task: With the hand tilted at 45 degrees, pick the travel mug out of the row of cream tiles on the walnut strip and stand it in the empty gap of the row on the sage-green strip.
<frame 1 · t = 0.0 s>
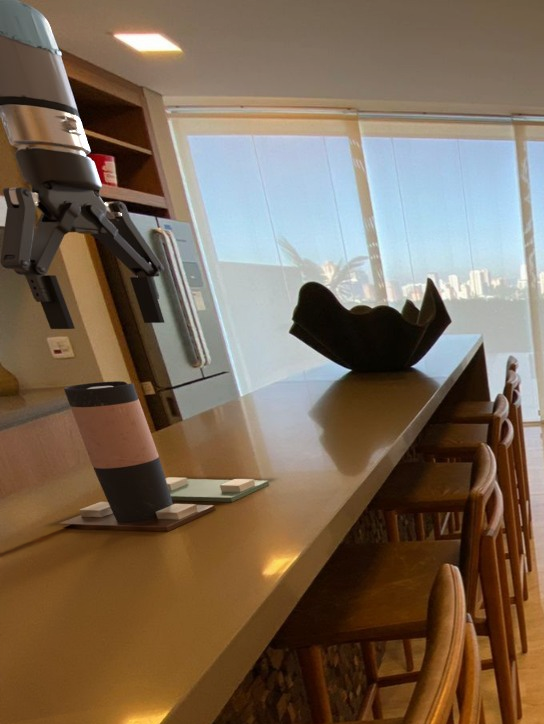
hand: (112, 325, 81), 29 cm above the counter, tool pointing down, fingers open, 13 cm apart
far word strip: (204, 491, 100), on the counter
travel mug: (146, 515, 88), point 1 cm above the counter, touching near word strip
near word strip: (140, 518, 89), on the counter
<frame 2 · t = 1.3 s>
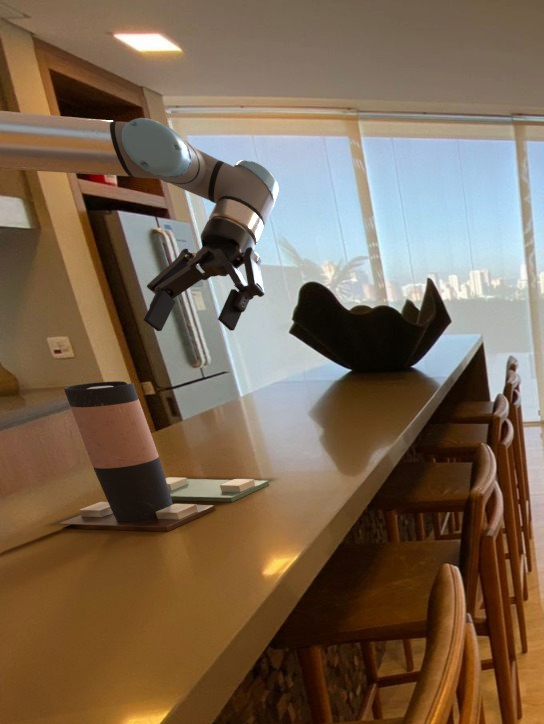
hand: (188, 325, 95), 28 cm above the counter, tool tilted 45°, fingers open, 13 cm apart
nothing on the counter moved.
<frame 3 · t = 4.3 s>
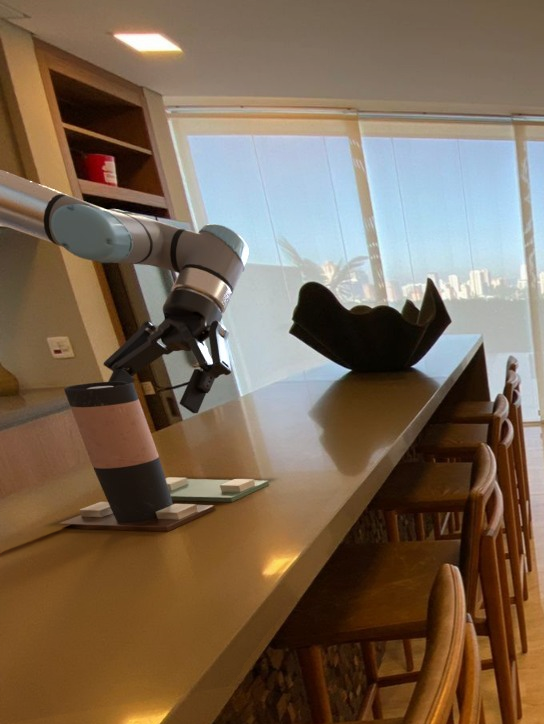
hand: (148, 408, 88), 16 cm above the counter, tool tilted 45°, fingers open, 13 cm apart
nothing on the counter moved.
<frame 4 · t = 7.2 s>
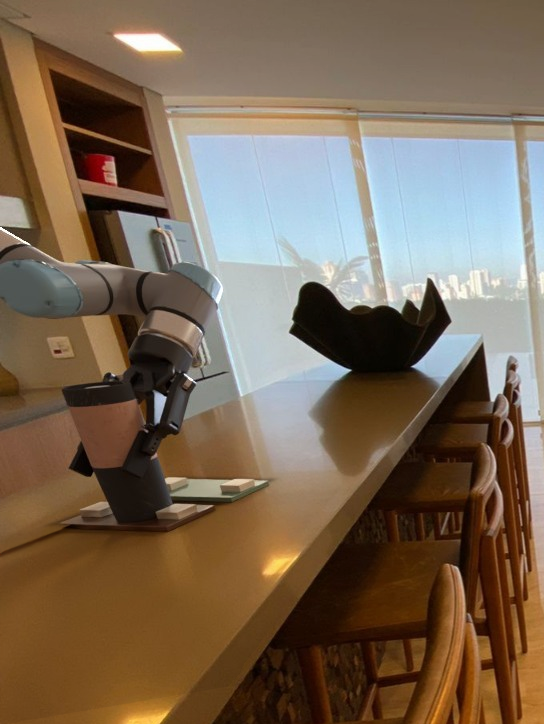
hand: (105, 473, 82), 9 cm above the counter, tool tilted 45°, fingers closed on travel mug, 8 cm apart
travel mug: (146, 514, 88), point 1 cm above the counter, touching gripper, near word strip
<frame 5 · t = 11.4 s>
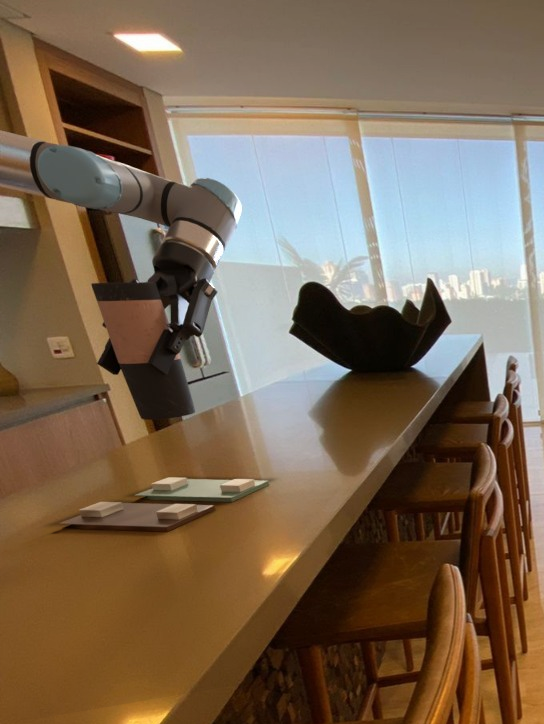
hand: (132, 369, 86), 22 cm above the counter, tool tilted 45°, fingers closed on travel mug, 8 cm apart
travel mug: (169, 416, 92), point 14 cm above the counter, touching gripper
when the fingers open (9 cm above the counter, at t = 15.8 s): travel mug stays where it is, resting on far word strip.
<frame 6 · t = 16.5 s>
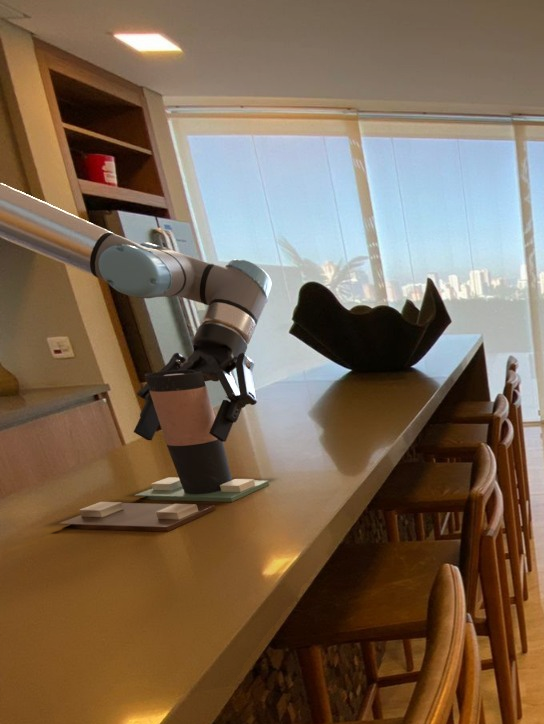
hand: (179, 437, 94), 11 cm above the counter, tool tilted 45°, fingers open, 13 cm apart
travel mug: (209, 488, 100), point 1 cm above the counter, touching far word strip
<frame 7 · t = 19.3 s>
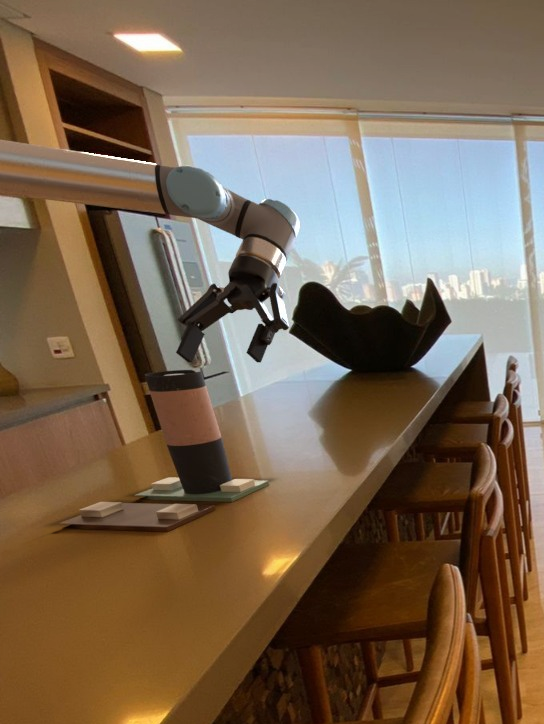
hand: (218, 357, 101), 22 cm above the counter, tool tilted 45°, fingers open, 13 cm apart
nothing on the counter moved.
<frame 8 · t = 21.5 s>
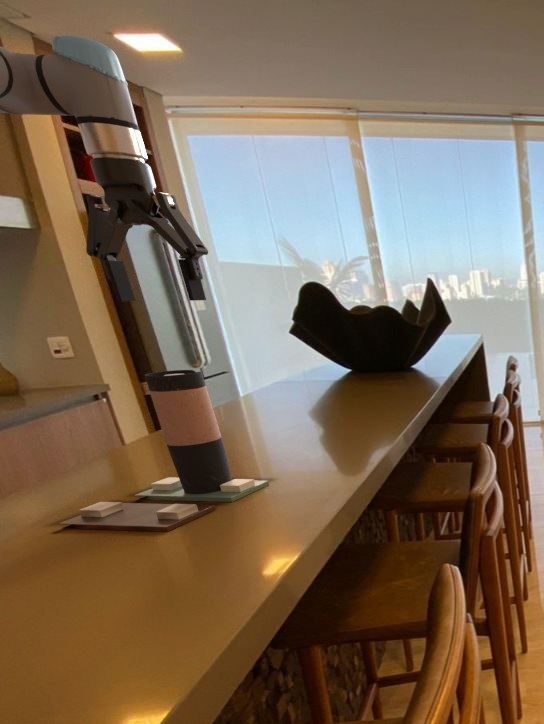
hand: (162, 301, 99), 32 cm above the counter, tool pointing down, fingers open, 13 cm apart
nothing on the counter moved.
at the end: travel mug inside the target area (0.1 cm from its centre), point 0.6 cm above the counter; travel mug tilted 0°; the gripper is holding nothing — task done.
